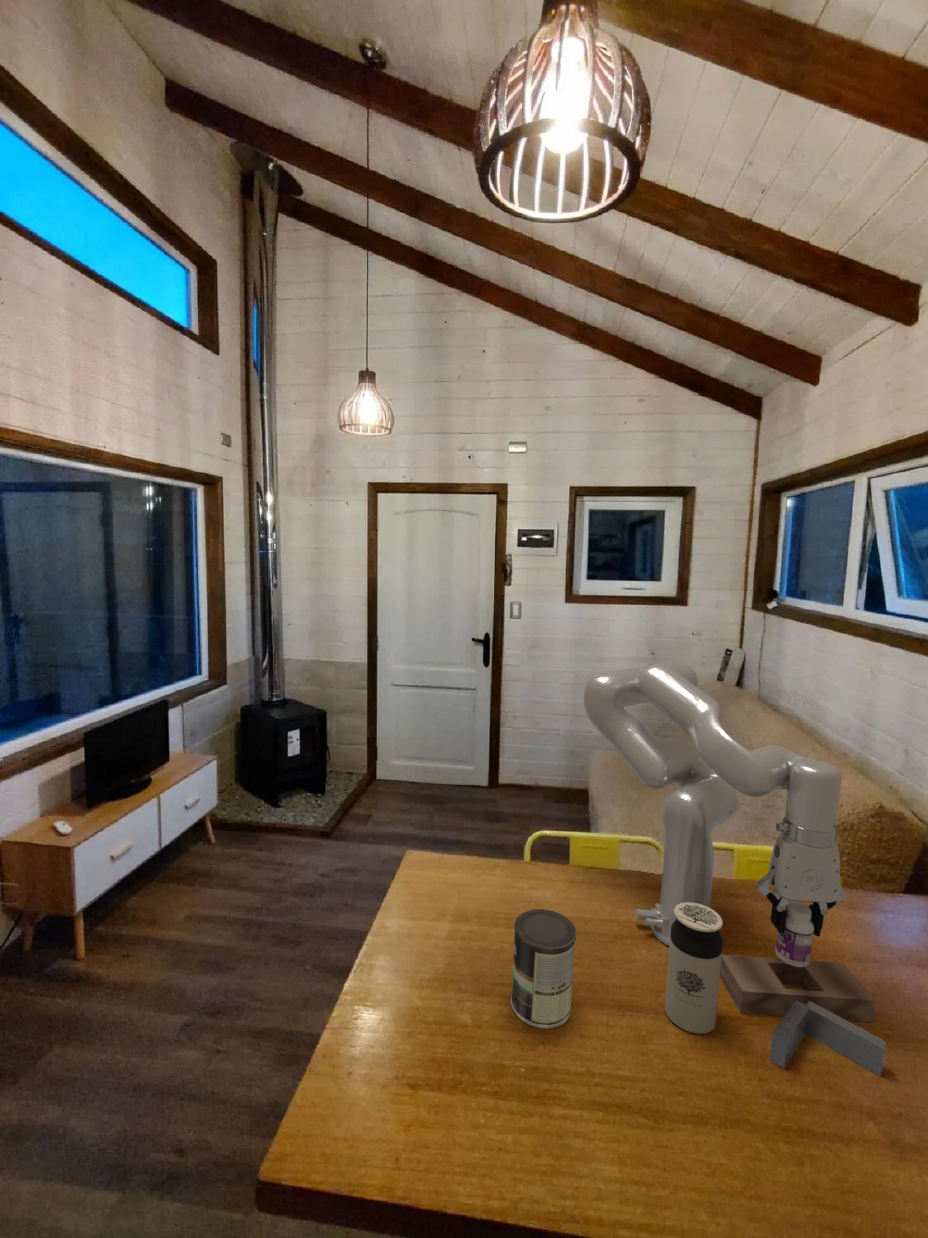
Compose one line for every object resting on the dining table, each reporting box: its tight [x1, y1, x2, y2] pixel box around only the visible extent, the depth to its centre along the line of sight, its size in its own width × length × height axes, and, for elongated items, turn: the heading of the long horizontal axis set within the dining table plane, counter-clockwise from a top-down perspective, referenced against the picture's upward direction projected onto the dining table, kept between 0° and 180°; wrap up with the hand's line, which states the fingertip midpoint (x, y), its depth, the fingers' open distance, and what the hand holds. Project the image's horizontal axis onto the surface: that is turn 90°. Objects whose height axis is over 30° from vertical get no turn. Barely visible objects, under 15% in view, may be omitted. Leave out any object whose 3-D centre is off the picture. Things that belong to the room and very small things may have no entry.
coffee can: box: [510, 908, 577, 1030], centre depth 96 cm, size 10×10×14 cm
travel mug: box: [664, 902, 724, 1034], centre depth 95 cm, size 8×8×18 cm
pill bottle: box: [774, 900, 814, 967], centre depth 100 cm, size 5×5×10 cm
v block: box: [769, 1000, 888, 1077], centre depth 90 cm, size 17×9×4 cm, turn 87°
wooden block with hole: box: [720, 954, 877, 1024], centre depth 100 cm, size 22×9×4 cm, turn 87°
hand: (795, 928), depth 100 cm, fingers closed on pill bottle, 5 cm apart
